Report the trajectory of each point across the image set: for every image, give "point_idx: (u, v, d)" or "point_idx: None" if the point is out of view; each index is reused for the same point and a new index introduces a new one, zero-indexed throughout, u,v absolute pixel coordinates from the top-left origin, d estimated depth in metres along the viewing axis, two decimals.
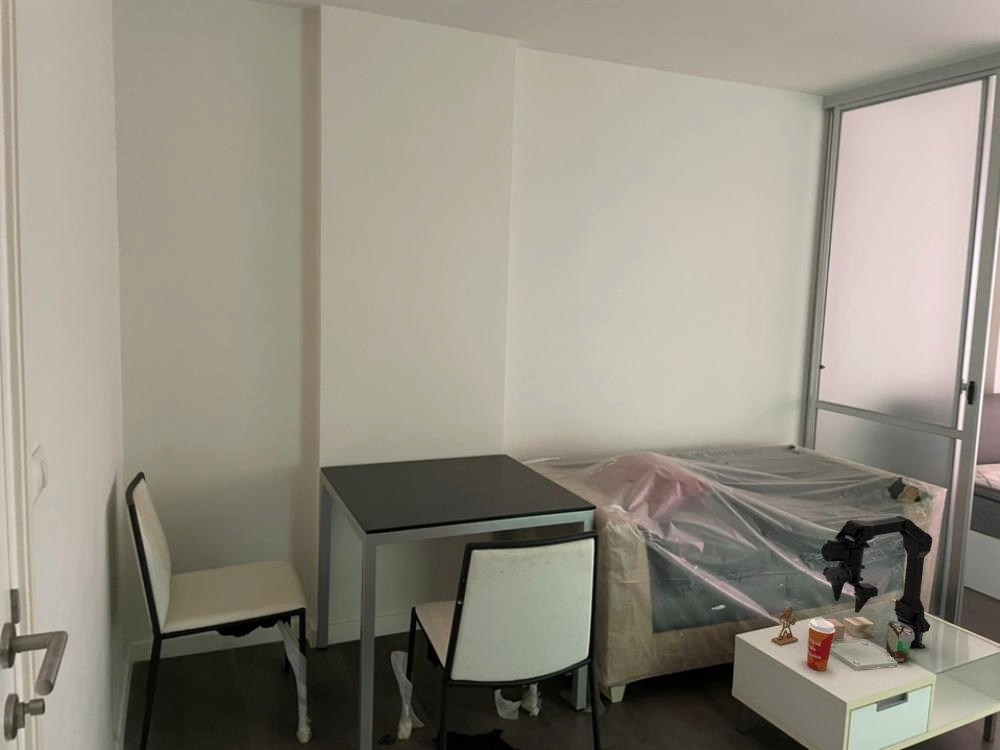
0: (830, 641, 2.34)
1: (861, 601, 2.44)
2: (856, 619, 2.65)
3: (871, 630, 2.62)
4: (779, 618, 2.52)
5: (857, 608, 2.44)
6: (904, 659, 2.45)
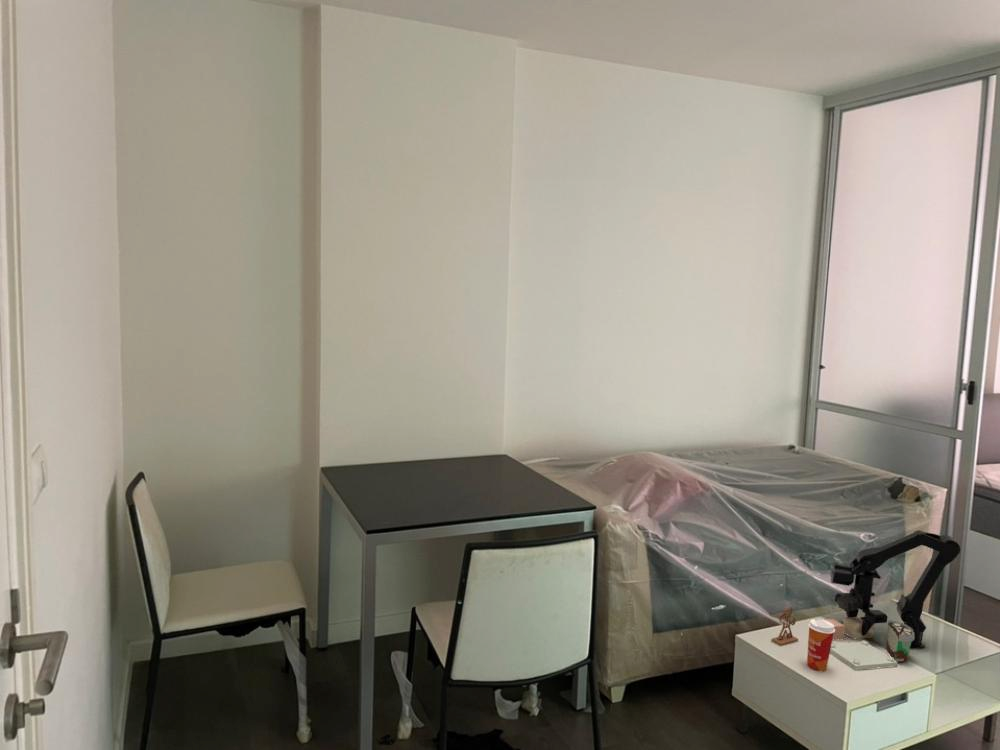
0: (830, 641, 2.34)
1: (867, 625, 2.60)
2: (856, 619, 2.65)
3: (871, 630, 2.62)
4: (779, 618, 2.52)
5: (864, 631, 2.60)
6: (904, 659, 2.45)
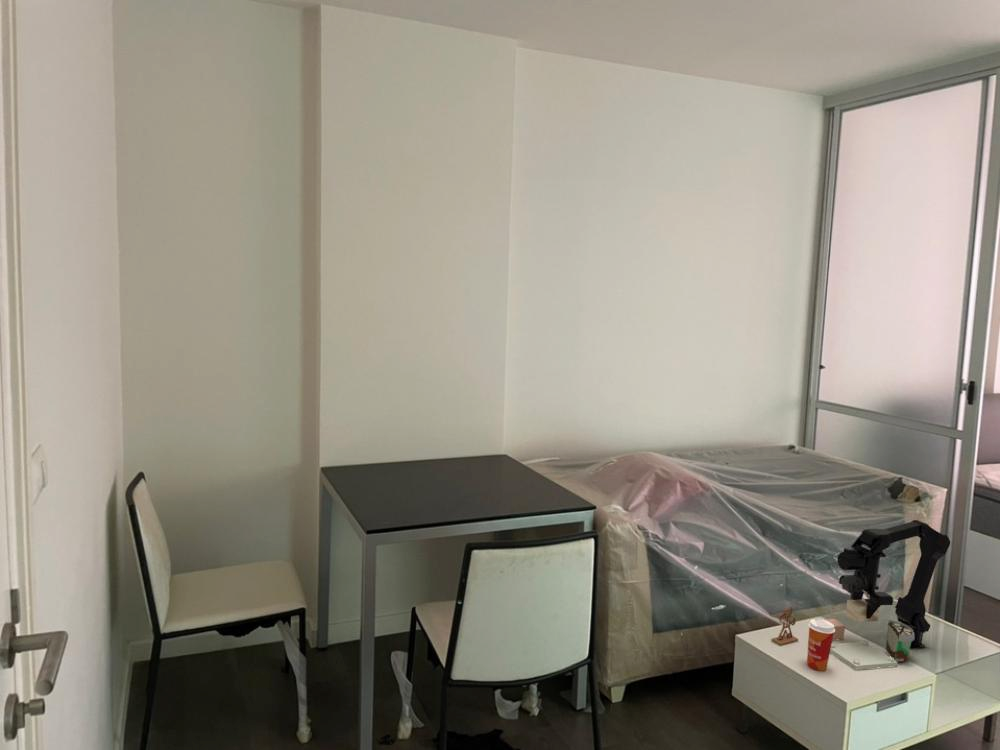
0: (830, 641, 2.34)
1: (872, 607, 2.48)
2: (861, 602, 2.53)
3: (876, 613, 2.51)
4: (779, 618, 2.52)
5: (868, 614, 2.49)
6: (904, 659, 2.45)
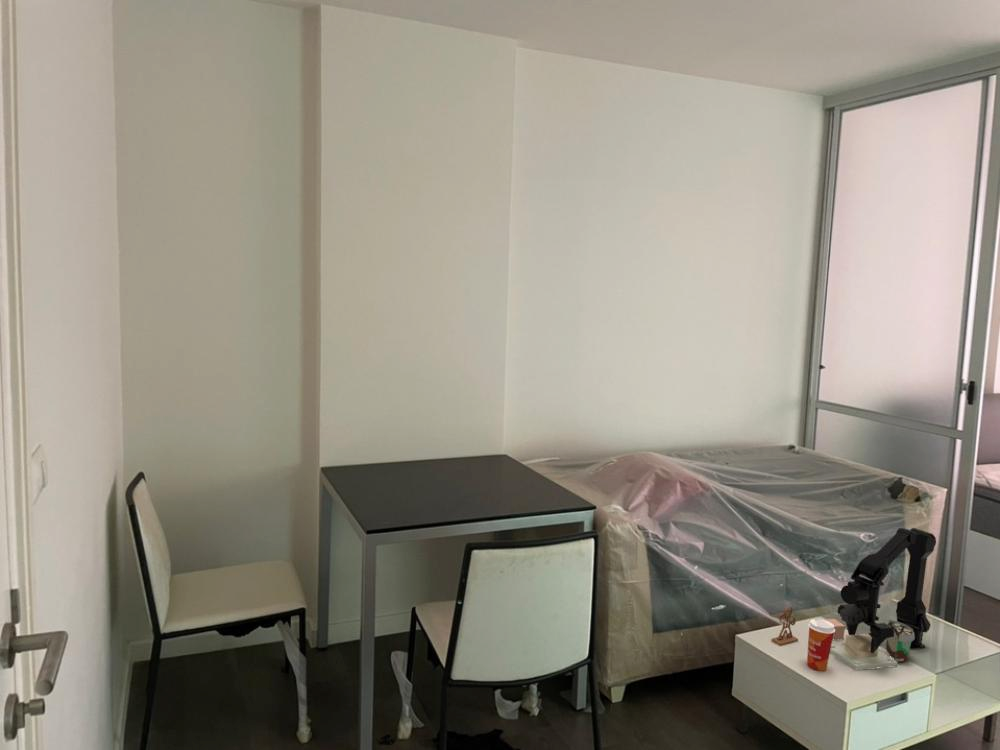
0: (830, 641, 2.34)
1: (877, 641, 2.40)
2: (860, 637, 2.47)
3: None
4: (779, 618, 2.52)
5: (873, 648, 2.41)
6: (904, 659, 2.45)
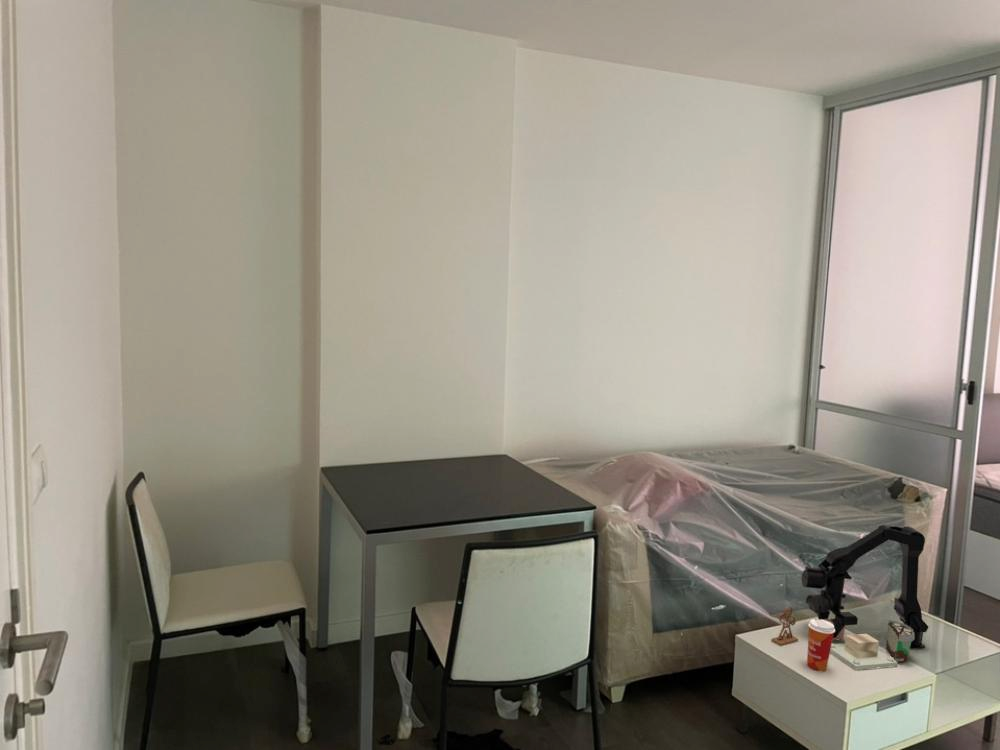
0: (830, 641, 2.34)
1: (838, 627, 2.56)
2: (860, 637, 2.47)
3: (876, 648, 2.44)
4: (779, 618, 2.52)
5: (834, 633, 2.57)
6: (904, 659, 2.45)
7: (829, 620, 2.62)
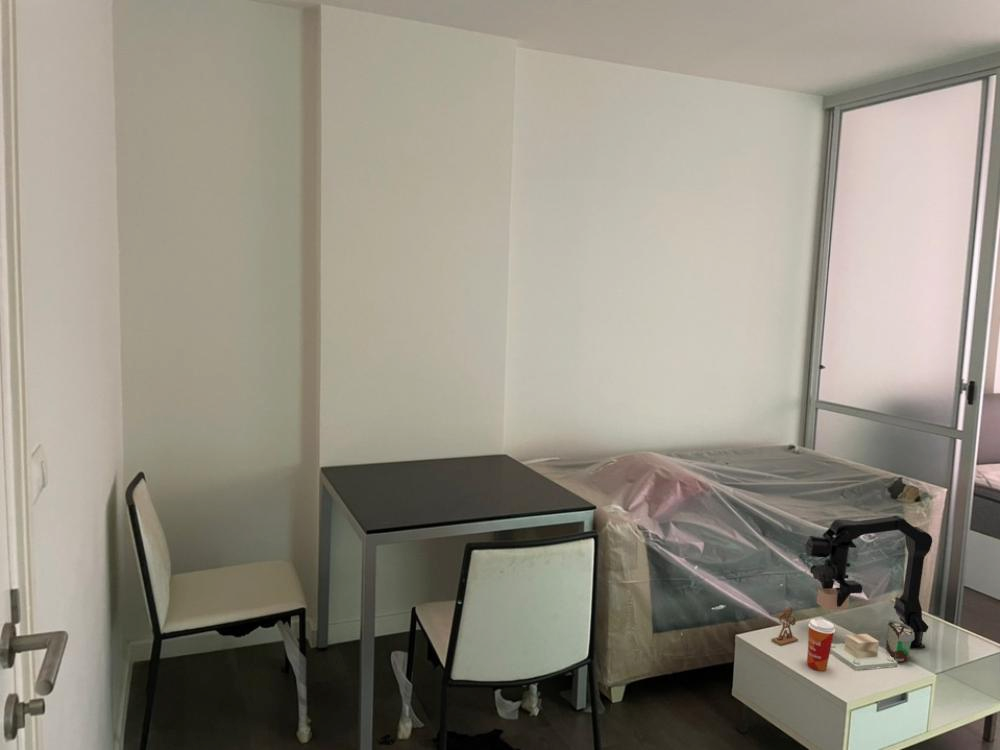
0: (830, 641, 2.34)
1: (843, 595, 2.55)
2: (860, 637, 2.47)
3: (876, 648, 2.44)
4: (779, 618, 2.52)
5: (839, 602, 2.55)
6: (904, 659, 2.45)
7: (833, 589, 2.60)
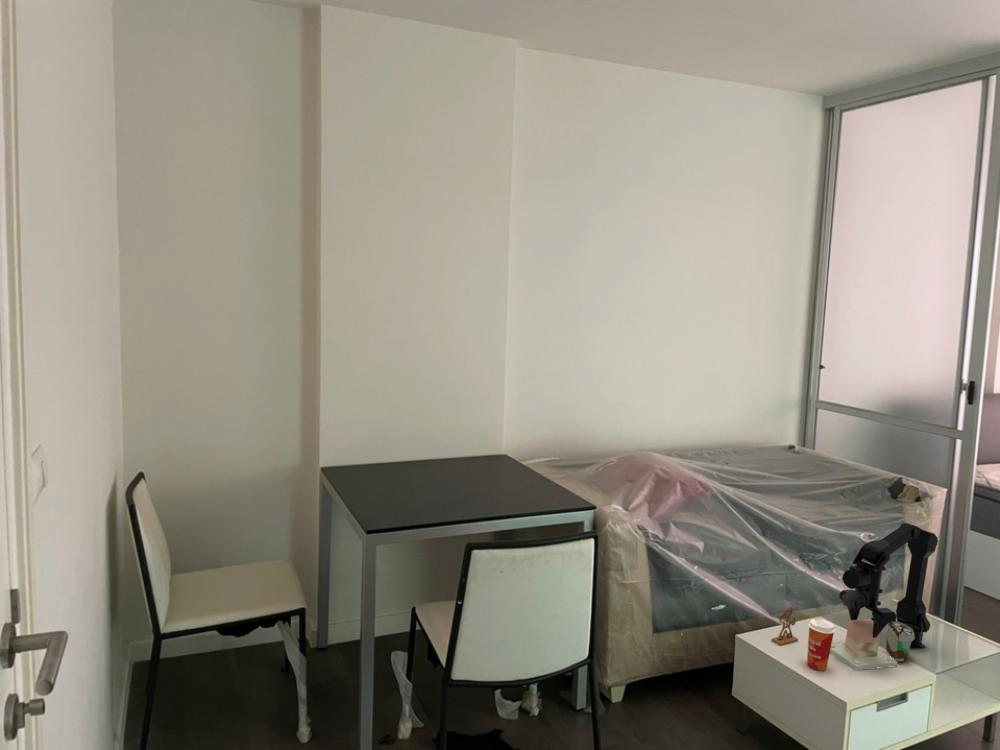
0: (830, 641, 2.34)
1: (879, 626, 2.40)
2: None
3: (876, 648, 2.44)
4: (779, 618, 2.52)
5: (875, 633, 2.40)
6: (904, 659, 2.45)
7: (864, 621, 2.47)
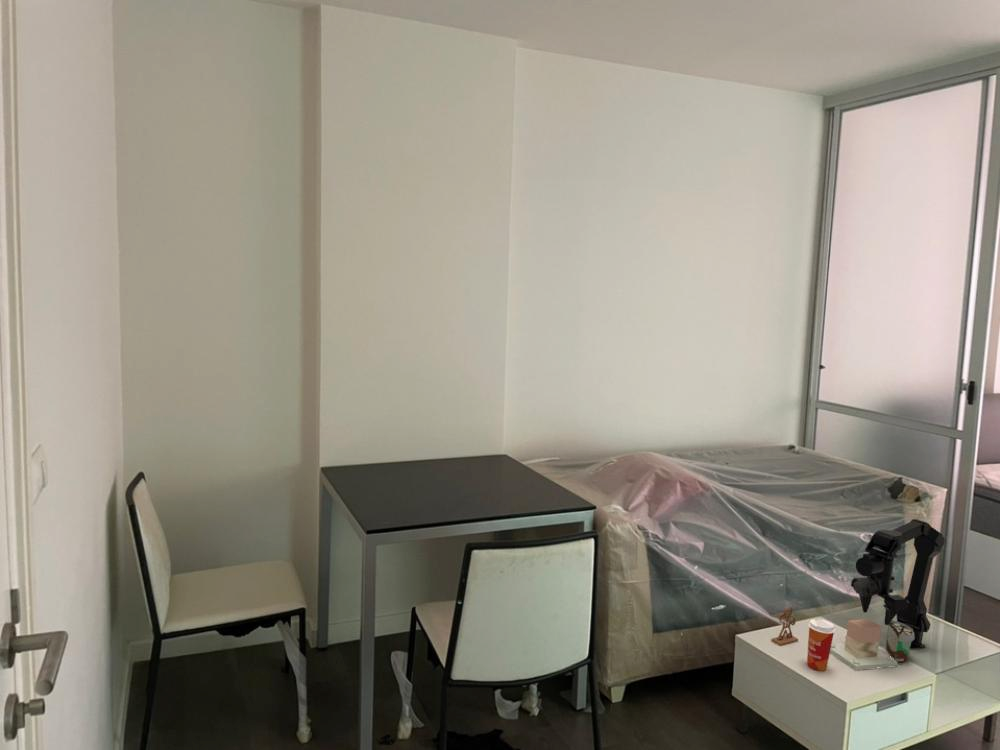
0: (830, 641, 2.34)
1: (891, 613, 2.40)
2: None
3: (876, 648, 2.44)
4: (779, 618, 2.52)
5: (887, 620, 2.41)
6: (904, 659, 2.45)
7: (864, 621, 2.47)
